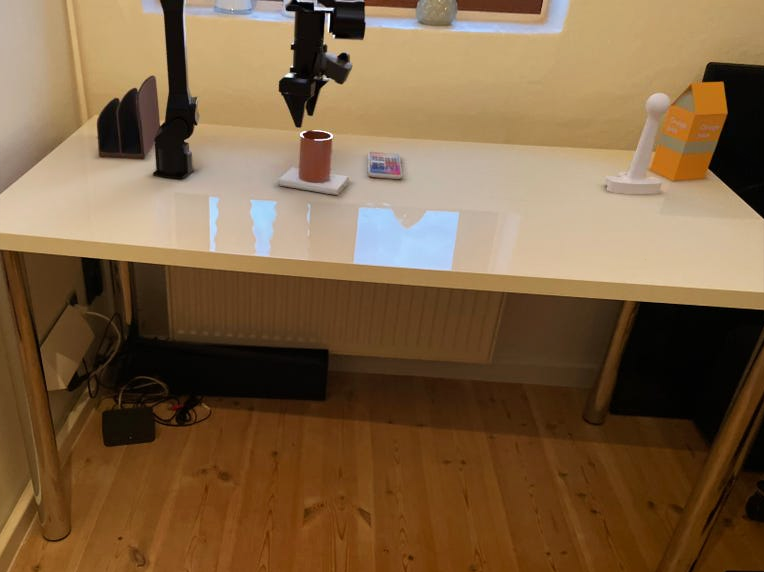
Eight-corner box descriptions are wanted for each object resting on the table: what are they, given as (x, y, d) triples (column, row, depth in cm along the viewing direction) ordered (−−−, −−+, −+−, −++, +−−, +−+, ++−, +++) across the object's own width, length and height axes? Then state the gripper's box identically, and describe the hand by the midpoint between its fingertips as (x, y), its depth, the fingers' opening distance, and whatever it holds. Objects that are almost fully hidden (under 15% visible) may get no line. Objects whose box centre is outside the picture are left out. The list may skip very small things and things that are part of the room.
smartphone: (400, 153, 167) (403, 176, 154) (399, 157, 167) (402, 180, 155) (367, 151, 167) (367, 173, 154) (367, 155, 167) (367, 177, 155)
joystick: (610, 193, 154) (639, 95, 143) (597, 181, 160) (623, 85, 149) (661, 194, 155) (693, 97, 144) (646, 182, 161) (675, 87, 150)
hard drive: (292, 174, 155) (348, 183, 152) (278, 186, 148) (337, 196, 145) (292, 166, 154) (349, 175, 151) (278, 178, 148) (337, 188, 144)
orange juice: (649, 169, 169) (677, 78, 158) (680, 167, 171) (710, 77, 160) (673, 181, 162) (704, 87, 151) (705, 178, 165) (738, 86, 154)
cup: (294, 180, 147) (296, 137, 143) (302, 170, 153) (304, 128, 148) (326, 184, 146) (329, 141, 141) (333, 174, 151) (336, 132, 147)
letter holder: (161, 133, 175) (157, 70, 167) (144, 160, 158) (140, 92, 150) (119, 131, 175) (113, 68, 167) (98, 157, 158) (91, 89, 150)
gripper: (339, 51, 130) (333, 139, 138) (360, 34, 145) (353, 114, 154) (279, 44, 132) (276, 132, 140) (305, 28, 147) (301, 108, 156)
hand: (304, 121), depth 147 cm, fingers open, 9 cm apart
